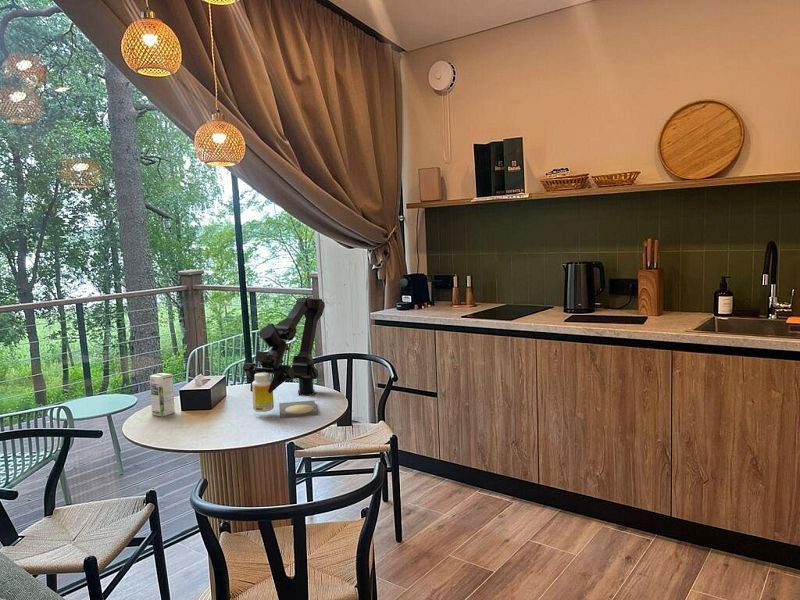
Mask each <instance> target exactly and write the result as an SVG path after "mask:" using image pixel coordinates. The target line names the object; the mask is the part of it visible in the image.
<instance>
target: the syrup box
mask: <svg viewBox="0 0 800 600" xmlns="http://www.w3.org/2000/svg"><path fill="white" fill-rule="evenodd" d="M149 384H150V385H149V386H150V400H151V403H150V404H151V415H152V416H157V417H158V416H159V417H165V416H168V415H172V414H174V413H176V411H175V409H176V408H175V395H174V394H175V392H174V391H175V390H174V376H173V374H172V373H164V372H160V373H154V374H151V375H149Z"/></svg>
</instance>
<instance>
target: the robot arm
mask: <svg viewBox="0 0 800 600" xmlns="http://www.w3.org/2000/svg"><path fill="white" fill-rule="evenodd" d="M325 306H326V305H325V301H323V299H322V298H309V297H298V298H296V303H295V304H294V306H293V307H292V309H291V310H290V311H289V313H288V315H287V316H286V317H285V318H284V319H283V320H281V321H279V322H278V323H277V324H276V325H274V323H270V322H269V323H267V325H266V326H264V327H262V328H261V329H260V330H259V331H258V332H259V333H258V336H259V337H260V339H261V340H262V341H263V343H264V344H265V345H266V346H267V347H268V351H255V357H254V361H255V362H259V363H258V364H259V365H260V366H261V367H260V366H257V364H256V363H255V362H244V363H243V366H242V367H241V368H242V370H243V372H244V373H245V374H246V375H247V376H248V377H250V392H252V382H253V381H255V379H254V378H255V374H257V373H269V375H270V374H271V375H273V377H272V379H271V380H272V382H271V385H270V387H269V391H268V392H269V393H271V392H272V391H273V392H274V391H275V390H276V389H277V388H278V387H279V386H280V385H282V384H283V383H285V382H287V381H288V380H291V381H293V380H294V379H298V390H297V394H298V396H305V395H315V394H316V391H315V388H314V380H316V379H318V378H319V371H318V370H317V368H316V366H315V360H314V357H313V348H314V343H315V336H316V331H317V325H318V320H319V319H321V317H322V316H323V313H324V311H325V308H326V307H325ZM303 316H304V325H303V331H302V336H301V343H300V348H299V352H298V353H297V354H296V355H294V356H293V358H292V364H291V365H290V364H283V363H284V359H283V358H284V356H285V353H286V351H290V347H289V345H288V344H289V343H288V342H286V341H293V340H294V339H295V336H296V334H297V326H298V325H299V323H300V322H301V319H303Z"/></svg>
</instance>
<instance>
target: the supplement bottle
mask: <svg viewBox="0 0 800 600" xmlns="http://www.w3.org/2000/svg"><path fill="white" fill-rule="evenodd" d="M254 379H255V381H253V382H252V393H251V394H252V405H253V411H255V412H256V413H257V412H258V413H265V412H270V411H272V410H273V409H274V407H275V406H274V405H275V404H274V403H275V402H274V390H273V391H272V392H271V393H269V392H268V391H269V387H270V385H271V382H272V380H273V379H270V373H257V374H255V378H254Z"/></svg>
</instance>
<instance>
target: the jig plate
mask: <svg viewBox="0 0 800 600" xmlns="http://www.w3.org/2000/svg"><path fill="white" fill-rule="evenodd" d="M278 409H279V410H278V411H279V418H280V417H284V418H292V417H293V416H295V417H306V416H313V415H318V409H317V406H316V402H315V400H302V401H292V402H291V401H290V402H288V401H287V402H279V403H278ZM305 415H306V416H305ZM293 418H294V417H293Z"/></svg>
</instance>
